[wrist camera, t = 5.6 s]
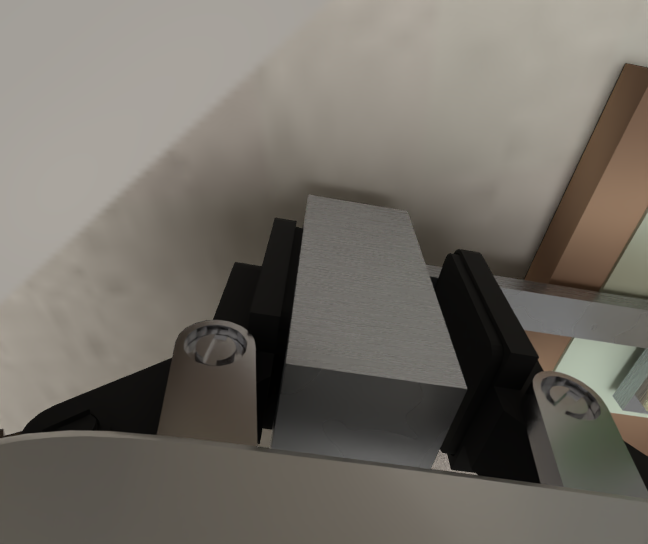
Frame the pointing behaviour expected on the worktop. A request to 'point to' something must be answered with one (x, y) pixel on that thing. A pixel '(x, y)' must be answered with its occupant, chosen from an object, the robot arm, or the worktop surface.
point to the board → (603, 245)
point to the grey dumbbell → (404, 339)
